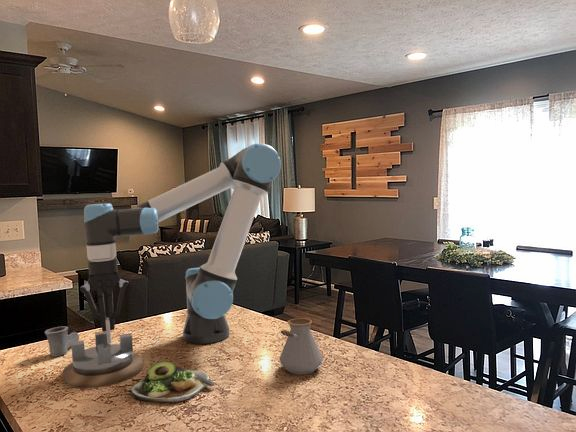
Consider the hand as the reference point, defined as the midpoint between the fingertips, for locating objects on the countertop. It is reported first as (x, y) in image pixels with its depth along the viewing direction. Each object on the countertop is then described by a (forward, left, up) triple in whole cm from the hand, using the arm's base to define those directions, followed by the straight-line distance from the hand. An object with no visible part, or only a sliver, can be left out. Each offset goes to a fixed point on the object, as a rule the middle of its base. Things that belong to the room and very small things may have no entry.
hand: (109, 341), depth 129 cm
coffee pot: (-53, +11, -7) cm, 54 cm away
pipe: (+19, -10, -7) cm, 23 cm away
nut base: (-1, +6, -6) cm, 9 cm away
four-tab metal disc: (-1, +6, -4) cm, 7 cm away
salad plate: (-22, +16, -7) cm, 28 cm away
